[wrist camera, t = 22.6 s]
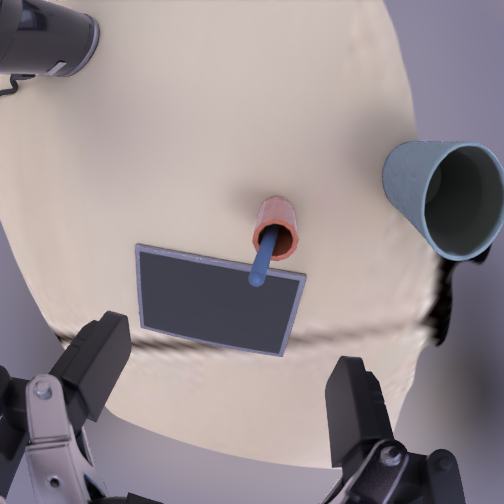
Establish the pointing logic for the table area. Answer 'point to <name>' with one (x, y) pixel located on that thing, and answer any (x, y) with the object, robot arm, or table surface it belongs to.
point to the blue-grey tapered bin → (448, 194)
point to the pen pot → (287, 237)
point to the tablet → (216, 300)
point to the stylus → (263, 256)
